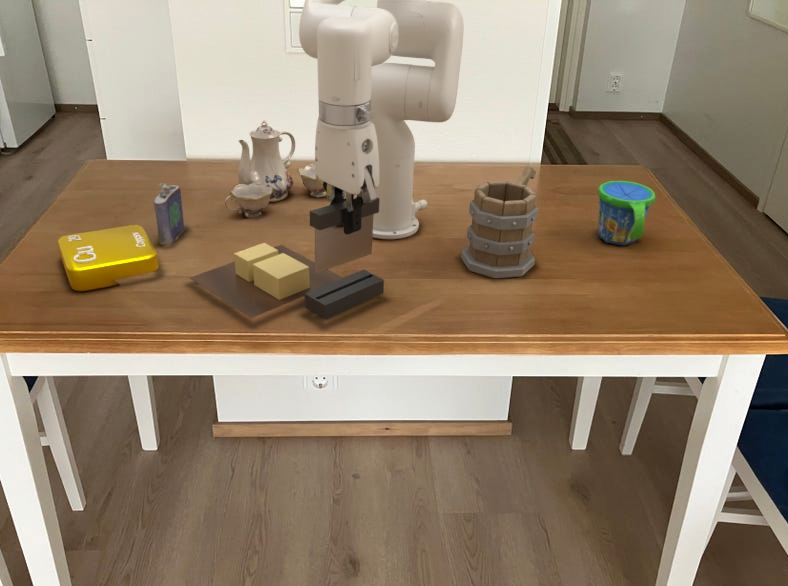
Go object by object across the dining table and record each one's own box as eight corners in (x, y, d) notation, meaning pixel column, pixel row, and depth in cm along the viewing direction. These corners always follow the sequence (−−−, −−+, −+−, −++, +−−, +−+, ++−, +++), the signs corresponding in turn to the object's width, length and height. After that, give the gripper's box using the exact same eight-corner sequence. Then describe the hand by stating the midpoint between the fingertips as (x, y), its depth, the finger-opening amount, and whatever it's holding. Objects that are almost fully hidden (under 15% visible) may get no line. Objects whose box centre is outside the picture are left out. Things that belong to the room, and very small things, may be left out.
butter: (284, 273, 136) (283, 252, 134) (309, 287, 132) (309, 266, 130) (254, 285, 132) (252, 264, 130) (279, 300, 128) (278, 278, 126)
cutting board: (281, 251, 146) (281, 244, 145) (345, 286, 136) (345, 278, 135) (190, 285, 134) (189, 277, 134) (252, 325, 124) (251, 317, 123)
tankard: (513, 285, 138) (524, 205, 129) (451, 265, 143) (457, 188, 135) (556, 245, 152) (569, 171, 143) (498, 229, 157) (507, 157, 149)
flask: (170, 247, 146) (162, 193, 140) (155, 246, 147) (147, 192, 141) (187, 228, 154) (180, 176, 148) (173, 226, 154) (166, 175, 148)
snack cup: (655, 256, 149) (667, 206, 143) (601, 255, 148) (611, 205, 143) (631, 222, 162) (641, 175, 156) (581, 222, 161) (589, 175, 156)
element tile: (162, 277, 136) (158, 253, 134) (73, 294, 131) (67, 268, 128) (144, 243, 148) (140, 220, 145) (60, 257, 142) (55, 233, 139)
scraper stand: (363, 289, 135) (363, 269, 133) (383, 300, 132) (384, 279, 130) (305, 314, 127) (304, 293, 125) (325, 326, 124) (324, 305, 122)
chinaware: (252, 236, 155) (252, 157, 145) (199, 205, 163) (195, 128, 153) (347, 197, 173) (353, 125, 163) (295, 171, 181) (298, 101, 171)
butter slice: (265, 262, 139) (264, 242, 137) (279, 270, 137) (278, 250, 134) (235, 273, 135) (233, 253, 133) (249, 282, 133) (247, 261, 131)
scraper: (366, 250, 130) (369, 193, 124) (376, 255, 128) (379, 198, 123) (309, 270, 122) (309, 210, 117) (319, 275, 120) (319, 215, 115)
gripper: (403, 119, 109) (398, 238, 120) (328, 93, 118) (330, 206, 129) (363, 131, 105) (363, 253, 115) (289, 103, 114) (294, 218, 125)
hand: (345, 227), depth 122 cm, fingers closed on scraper, 2 cm apart
